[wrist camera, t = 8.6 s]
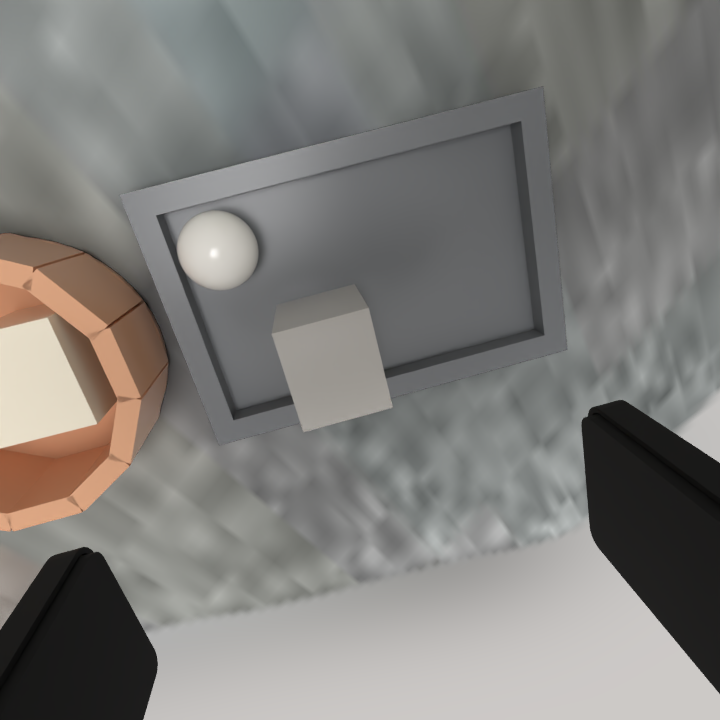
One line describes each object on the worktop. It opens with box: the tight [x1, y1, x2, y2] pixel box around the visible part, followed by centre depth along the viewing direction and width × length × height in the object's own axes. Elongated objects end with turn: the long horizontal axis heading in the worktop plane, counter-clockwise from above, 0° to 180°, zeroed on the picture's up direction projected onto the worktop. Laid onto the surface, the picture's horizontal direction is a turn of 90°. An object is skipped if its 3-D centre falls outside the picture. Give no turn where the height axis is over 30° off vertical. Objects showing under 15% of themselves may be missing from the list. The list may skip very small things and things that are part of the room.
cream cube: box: [0, 304, 118, 449], centre depth 18 cm, size 4×4×4 cm
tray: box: [119, 86, 567, 445], centre depth 21 cm, size 16×11×2 cm, turn 103°
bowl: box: [0, 233, 169, 531], centre depth 19 cm, size 10×10×4 cm
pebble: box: [177, 210, 259, 291], centre depth 19 cm, size 3×3×3 cm
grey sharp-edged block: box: [272, 284, 393, 432], centre depth 20 cm, size 4×4×4 cm
